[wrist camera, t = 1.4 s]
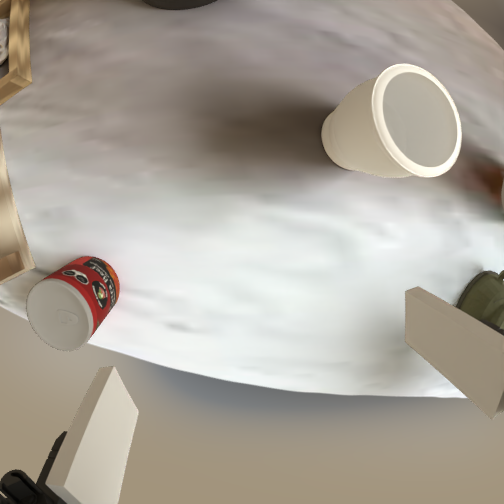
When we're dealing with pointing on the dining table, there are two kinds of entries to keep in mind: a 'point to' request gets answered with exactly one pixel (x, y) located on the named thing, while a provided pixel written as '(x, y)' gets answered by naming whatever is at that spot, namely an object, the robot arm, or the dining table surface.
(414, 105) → the jar
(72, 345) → the canned food
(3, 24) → the seashell
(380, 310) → the dining table surface
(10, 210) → the ledge
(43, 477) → the robot arm
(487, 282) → the lantern
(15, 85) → the shell cradle
